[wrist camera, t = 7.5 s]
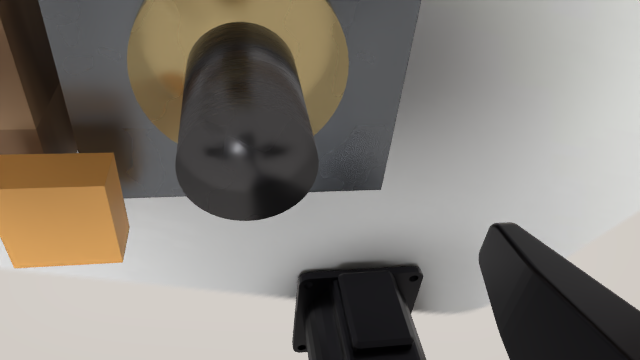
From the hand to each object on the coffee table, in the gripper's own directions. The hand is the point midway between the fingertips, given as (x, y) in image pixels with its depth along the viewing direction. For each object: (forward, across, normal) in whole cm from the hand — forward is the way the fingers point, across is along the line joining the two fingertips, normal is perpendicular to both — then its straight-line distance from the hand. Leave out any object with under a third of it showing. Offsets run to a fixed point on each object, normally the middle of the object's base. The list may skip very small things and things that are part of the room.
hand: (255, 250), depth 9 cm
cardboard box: (+6, +5, +4) cm, 9 cm away
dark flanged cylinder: (+10, 0, 0) cm, 10 cm away
